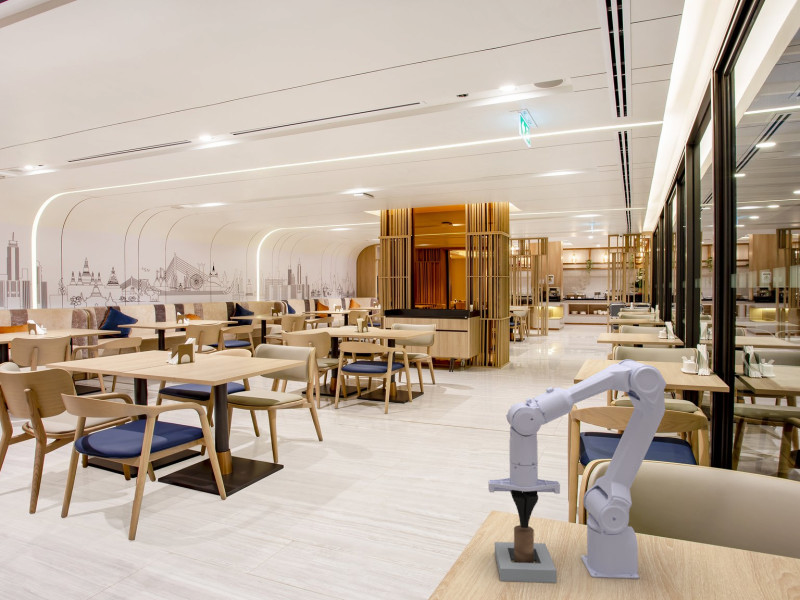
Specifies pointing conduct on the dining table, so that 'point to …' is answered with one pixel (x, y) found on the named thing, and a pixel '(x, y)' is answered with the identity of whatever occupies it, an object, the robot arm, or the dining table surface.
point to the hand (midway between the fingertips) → (523, 525)
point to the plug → (523, 545)
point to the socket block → (525, 564)
